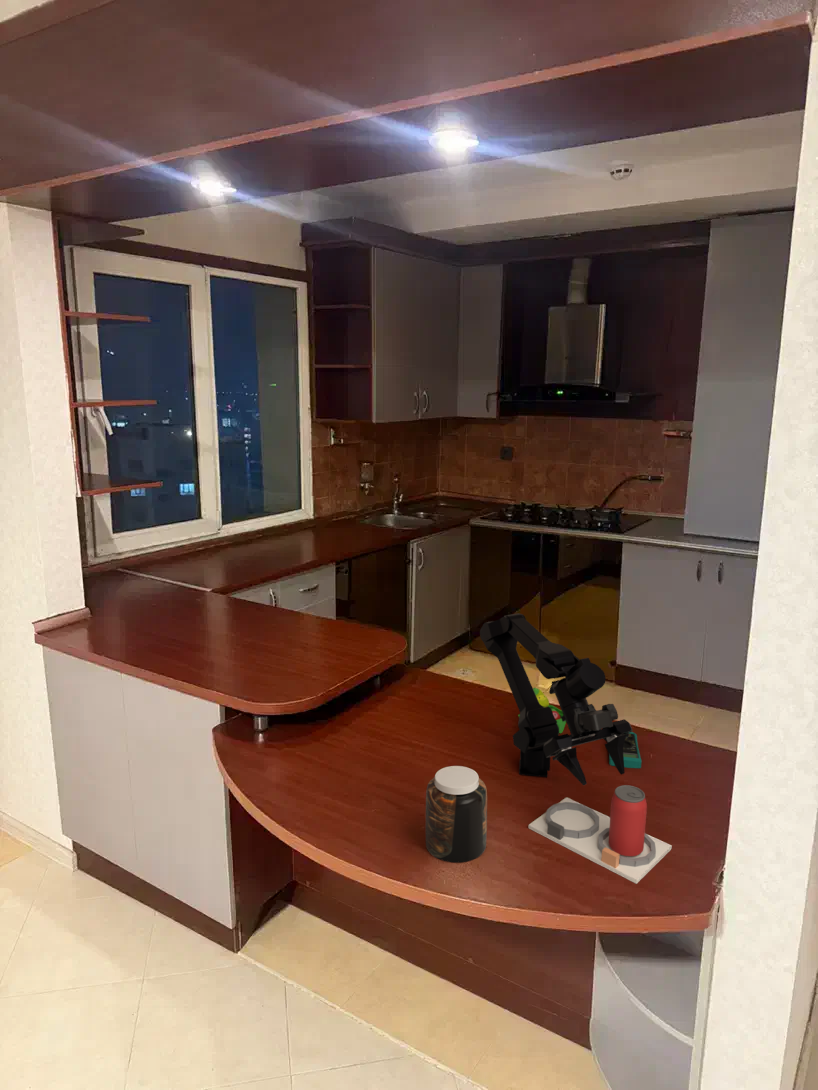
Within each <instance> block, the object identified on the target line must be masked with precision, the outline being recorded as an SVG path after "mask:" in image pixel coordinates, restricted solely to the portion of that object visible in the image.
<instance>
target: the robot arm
mask: <svg viewBox="0 0 818 1090" xmlns="http://www.w3.org/2000/svg"><path fill="white" fill-rule="evenodd" d="M526 619H527V618H526V617H525V615H524V614H522V613H512V614H507V615H504V616H503V617H500V618H499V619H496V620H492V621H488V622H487V621H486V622H484V623H483V624H482V626H481V628H480V630H479V636H480V639H481V641H482V642H483V644H484V646H485V648H486V650H487V651H488V652H489V653H491V654H492V655H493V656H494V657H496V658H497V660H498V662H499V664H500V667H501V669H502V672H503V674H504V677H505V679H506V682H507V684H508V687H509V689H510V691H511V694H512V696H513V698H514V700H515V703H516V706H517V708H518V710H519V714H520V716H518V722H517V726H518V729H519V730H518V731H516V732H515V733H514V734H513V735H512V741H513V745H514V747H516V748H517V749H519V750H520V755H519V757H520V758H519V763H518V764H519V766H518V767H519V768H518V774H519V775H520V776H527V777H528V776H529V777H539V778H540V777H542V778H547V777H548V772H549V771H550V768H551V757H552V761H558V762H559V764H561V765H562V766H564V768H565V769H566V770H568V772H570V774H572V775H573V776H574V778H576V780H577V781H578V782H579V783H580V784H581V785H582V786H586V785H587V784H588V783H587V780H586V776H585V773H584V771H583V769H582V766H581V764H580V761H579V759H578V756H577V753H578V752H577V747H576V746H580V745H583V744H587V743H592V742H596V741H598V740H604V741H605V742H606V743H605V744H604V746H605V748H606V750H607V753H608V755H609V754H610V756H611V758H612V760H613V762H614V764H615V766H614V767H615V768H616V770H617V771H618V773H619V774H620V775H621V776H623V775H624V774H625V772H626V771H625V767H624V756H623V745H624V742H625V739H626V738H627V737H629V734H628V733H630V732H633V727H632V725H631V723H630V722H629V721H628V720H626V719H620V720H618V719H619V714H618V711H617V708H616V706H615V705H614V704H613V703H607V704H603V705H602V707H601V709H598V710H596V707H595V705H593V703H589V701H588V699H587V698H589V697H590V696H592V695H593V694H595V693H596V692H597V691H599V690H600V689H602V687H604V686H605V683H606V673H605V671H604V670H603V669H602V668H601V667H600V666H599V665H597V664H596V663H594V662H591V660H590V658H589V657H585V658H581V659H580V658H579V657H578V656H576V655H575V654H574V652H573V651H572V650H571V649H570V648H567V647H566V646H564V645H563V644H559V643H555V642H552V641H550V640H549V639H548V638H547V637H545V636H544V635H543V634H542V633H541V632H540V631H539V630H538V628H537V629H536V628H535V626H533V625H532V624H531V623H530V622H529V621H528V620H526ZM518 643H519V645H521V646H522V647H523V648H524V649H525V650H526V651H528V653H530V655H532V657H533V658H534V660H535V666H536V668H537V670H538V671H539V673H540V674H541V675H542V676H543V678H545V679H546V680H553V679H557V680H553V681H551V685H550V688H549V694H550V695H553V694H554V695H555V697H556V700H557V703H558V705H559V707H560V710H561V711H562V713H563V716H562V717H561V719H562V721H563V722H564V721H566V725H567V727H568V730H569V732H570V734H568V733H564V734H561V735H560V734H559V727H558V725H557V721H556V719H555V717H554V715H553V712H552V710H551V708H550V707H543V706H542V705H540V704H539V702H538V699H537V697H536V695H535V692H534V690H533V688H534V687H533V686H532V684H531V681H530V678H529V675H528V674H527V671H526V669H525V667H524V664H523V663H522V660H521V658H520V655H519V653H518V650H517V648H518V647H517V646H518ZM559 678H561V679H559ZM558 679H559V680H558Z"/></svg>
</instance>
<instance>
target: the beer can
mask: <svg viewBox="0 0 818 1090" xmlns="http://www.w3.org/2000/svg"><path fill="white" fill-rule="evenodd" d="M647 811H648V803H647V800H646V794H645V792H644V791H643V789H642V788H639V787H636V786H633V785H628V784H624V785H619V786H617V787H616V788H615V790H614V793H613V794H612V797H611V801H610V815H609V817H610V828H609V842H608V843H609V846H610V848H611V849H612V850H613V851H614V852H616V853H618V854H620V855H622V856H626V857H633V856H637V855H639V854H641V853H642V851H643V848H644V837H645V834H646V822H647Z"/></svg>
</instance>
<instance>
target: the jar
mask: <svg viewBox="0 0 818 1090" xmlns="http://www.w3.org/2000/svg"><path fill="white" fill-rule="evenodd" d="M434 774H435V775H434V777H433V778H432V779H430V781H429V782H428V783H427V786H426V791H425V848H426V850H427V851H428V852H429V854H430V855H431V856H432V857H434V858H435V859H438V860H440V861H443V862H446V863H447V862H449V863H456V864H457V863H460V864H461V863H466V862H471V861H473V860H476V859H478V858H479V857H480V856H482V855H483V854H484V852H485V851H486V847H487V833H488V831H487V829H488V791H487V785H486V784H485V782H484V781H483V780H482V779H481V778H479V774H478V773H477V772H476V771H475V770H474V769H472V768H469V767H467V766H462V765H451V766H445V767H443V768H441V769H439V770H437V772H436V773H434Z"/></svg>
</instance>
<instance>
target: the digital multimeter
mask: <svg viewBox="0 0 818 1090" xmlns="http://www.w3.org/2000/svg"><path fill="white" fill-rule="evenodd" d="M628 734H629V737H627V738H626V739H625V742H624V745H623V756H624V768H627V769H642V763H643V762H642V761H643V760H642V758H641V754H640V750H639V743H638V734H637V733H635V732H633V731H632V732H630V733H628ZM608 764H609V766H611V767H613V766H614V767H616V766H615V764H614V762H613V760H612V758H611V756H610V754H609V753H608Z"/></svg>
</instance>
